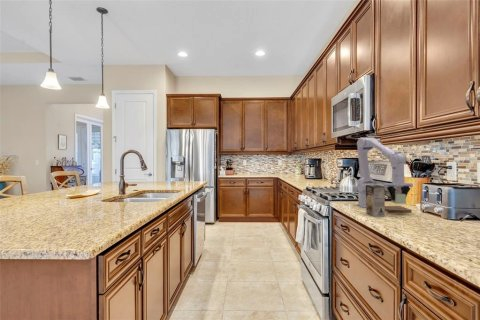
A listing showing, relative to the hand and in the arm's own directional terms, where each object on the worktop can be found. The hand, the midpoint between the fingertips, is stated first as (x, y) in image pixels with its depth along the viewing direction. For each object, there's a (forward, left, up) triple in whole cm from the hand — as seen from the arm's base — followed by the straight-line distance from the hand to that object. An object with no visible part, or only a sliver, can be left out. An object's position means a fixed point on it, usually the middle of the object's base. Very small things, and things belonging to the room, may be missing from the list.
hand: (398, 200), depth 143 cm
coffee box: (+1, -13, -8) cm, 15 cm away
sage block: (0, 0, -1) cm, 1 cm away
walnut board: (-10, +3, -8) cm, 13 cm away
